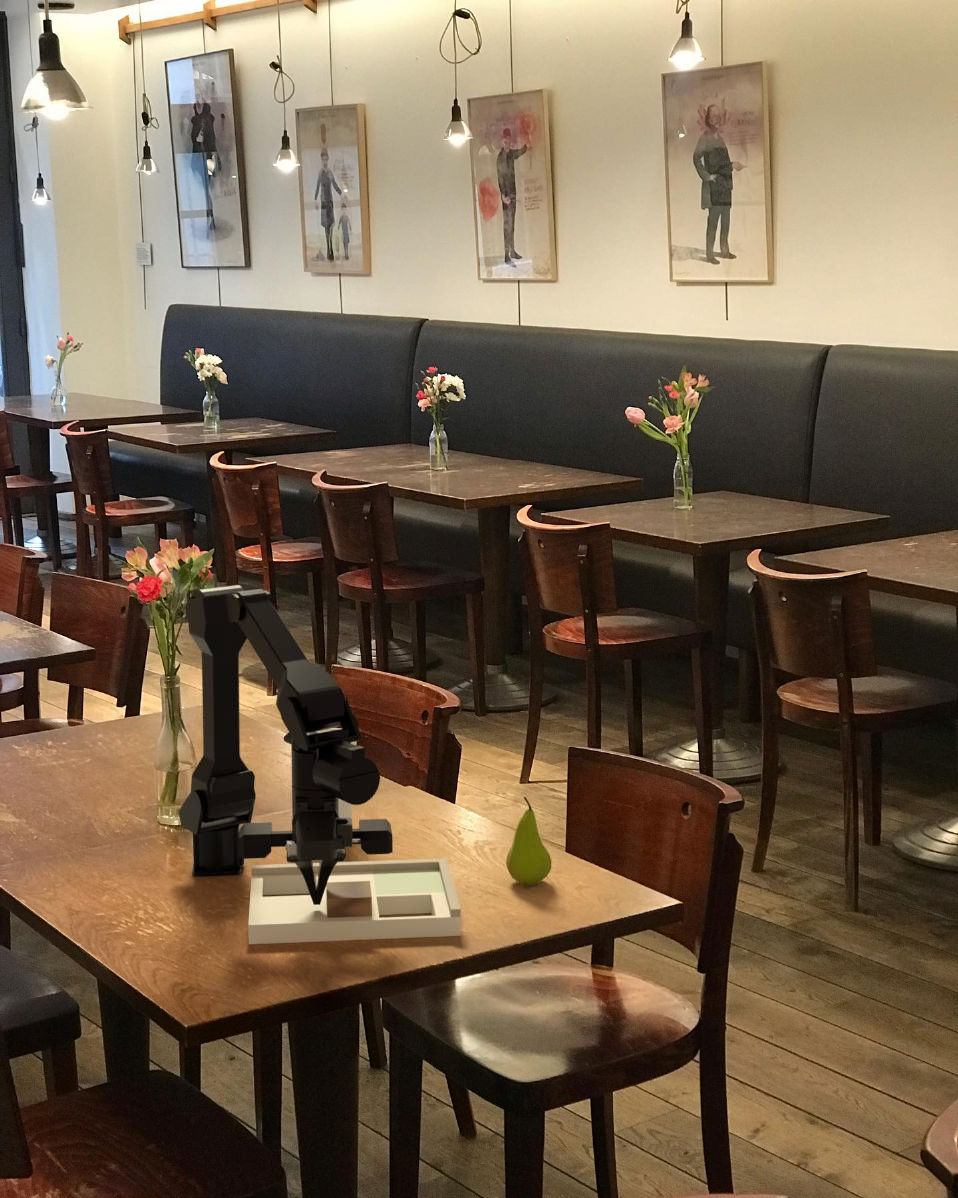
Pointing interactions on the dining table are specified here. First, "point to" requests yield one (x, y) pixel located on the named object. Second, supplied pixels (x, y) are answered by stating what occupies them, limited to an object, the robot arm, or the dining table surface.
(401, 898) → the box
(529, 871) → the fruit
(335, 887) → the walnut block
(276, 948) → the dining table surface
